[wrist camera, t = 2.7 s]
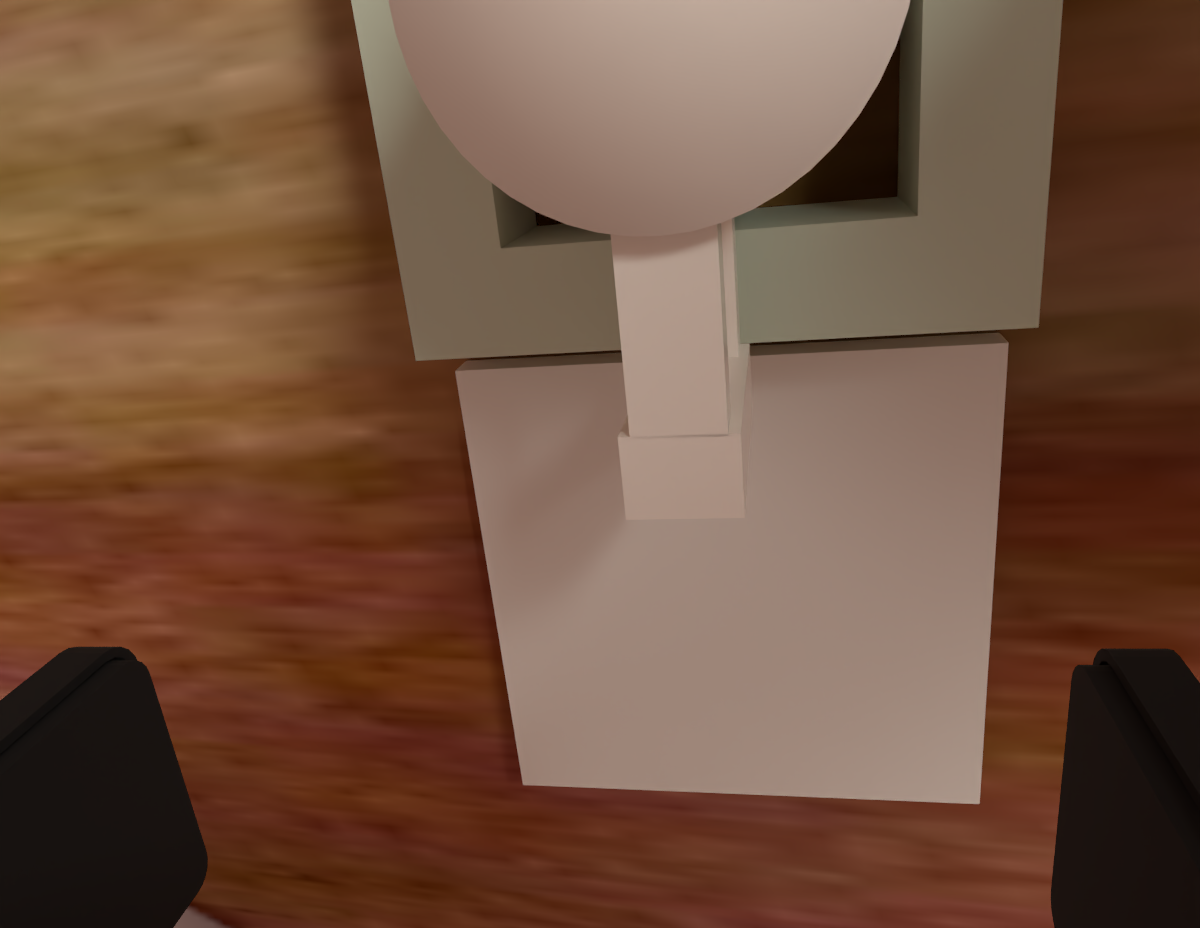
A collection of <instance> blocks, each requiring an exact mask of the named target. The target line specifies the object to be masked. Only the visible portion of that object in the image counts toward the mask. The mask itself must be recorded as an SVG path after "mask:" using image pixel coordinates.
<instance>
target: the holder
mask: <svg viewBox="0 0 1200 928" xmlns="http://www.w3.org/2000/svg"><path fill="white" fill-rule="evenodd" d="M351 3H352V9H353V14H354V20H355V25H356V31H357V36H358V42H359V48H360V53H361V59H362V64H363V70H364V75H365V81H366V87H367V92H368V98H369V103H370V109H371V114H372V120H373V125H374V131H375V137H376V142H377V148H378V153H379V159H380V164H381V170H382V176H383V181H384V187H385V192H386V198H387V203H388V209H389V215H390V220H391V226H392V231H393V237H394V242H395V248H396V254H397V259H398V265H399V270H400V276H401V281H402V287H403V292H404V298H405V304H406V309H407V315H408V320H409V326H410V331H411V337H412V343H413V348H414V354H415V359H416V361H424V360H442V359H461V358H480V357H499V356H517V355H536V354H555V353H573V352H592V351H611V350H621V340H620V329H619V319H618V308H617V298H616V287H615V277H614V266H613V256H612V245H611V235H610V234H604V233H597V232H593V231H589V230H585V229H582V228H578V227H574V226H570V225H567V224H557V225H544V226H537V223H536V215H535V211H534V210H532V209H531V208H529V207H527V206H525V205H524V204H522V203H520V202H518V201H517V200H515V199H513V198H511V197H510V196H509V195H507V194H506V193H505V192H503V191H502V190H501V189H499V188H498V187H497V186H495V185H494V184H493V183H491V182H490V181H489V180H487V179H486V178H485V177H484V176H483V175H482V174H481V173H480V172H479V171H478V170H477V169H476V168H475V167H474V166H473V165H472V164H471V163H470V162H468V161H467V160H466V159H465V158H464V157H463V156H462V155H461V153H460V152H459V151H458V150H457V148H456V147H455V146H454V145H453V143H452V142H451V141H450V140H449V138H448V137H447V136H446V135H445V133H444V132H443V131H442V130H441V128H440V127H439V125H438V124H437V122H436V120H435V119H434V117H433V116H432V114H431V112H430V111H429V109H428V108H427V106H426V104H425V103H424V101H423V100H422V98H421V95H420V93H419V91H418V89H417V87H416V85H415V83H414V81H413V79H412V77H411V74H410V72H409V70H408V68H407V65H406V62H405V59H404V57H403V54H402V51H401V48H400V45H399V42H398V39H397V36H396V33H395V29H394V24H393V20H392V15H391V11H390V6H389V2H388V0H351ZM1062 9H1063V0H910V4H909V9H908V12H907V15H906V18H905V21H904V24H903V27H902V30H901V33H900V74H899V134H898V193H897V197H887V198H874V199H862V200H850V201H838V202H826V203H813V204H801V205H789V206H777V207H764V208H755V209H753V210H751V211H748V212H746V213H744V214H741V215H739V216H737V217H734V219H735V241H736V263H737V284H738V306H739V328H740V344H742V343H761V342H779V341H798V340H817V339H835V338H854V337H873V336H892V335H910V334H929V333H948V332H967V331H985V330H1004V329H1023V328H1039V316H1040V303H1041V290H1042V276H1043V263H1044V249H1045V236H1046V223H1047V209H1048V196H1049V183H1050V169H1051V156H1052V143H1053V129H1054V116H1055V102H1056V89H1057V76H1058V62H1059V49H1060V36H1061V22H1062Z"/></svg>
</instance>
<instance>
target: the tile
mask: <svg viewBox="0 0 1200 928" xmlns="http://www.w3.org/2000/svg"><path fill="white" fill-rule="evenodd" d="M1008 345H1009V343H1008V342H1007V341H1006V339H1005V338H1004V337H1003V336H1002V335H1001V334H1000V333H981V334H962V335H944V336H925V337H906V338H887V339H868V340H849V341H830V342H811V343H792V344H773V345H754V346H750V362H751V386H752V424H751V438H750V452H749V466H748V481H747V495H746V509H745V518H709V519H647V520H626V516H625V506H624V496H623V486H622V476H621V466H620V456H619V446H618V435H619V433H620V431H621V429H622V426H623V424H624V422H625V419H626V417H627V415H628V414H627V403H626V393H625V382H624V372H623V361H622V353H603V354H584V355H565V356H546V357H527V358H508V359H489V360H471V361H465V362H464V363H463V364H462V365H461V366H460V367H459V368H458V369H457V370H456V371H455V374H456V380H457V386H458V392H459V398H460V405H461V411H462V417H463V423H464V429H465V435H466V441H467V447H468V453H469V459H470V465H471V472H472V478H473V484H474V490H475V496H476V502H477V508H478V514H479V520H480V526H481V532H482V539H483V545H484V551H485V557H486V563H487V569H488V575H489V581H490V587H491V593H492V599H493V605H494V612H495V618H496V624H497V630H498V636H499V642H500V648H501V654H502V660H503V666H504V672H505V679H506V685H507V691H508V697H509V703H510V709H511V715H512V721H513V727H514V733H515V739H516V746H517V752H518V758H519V764H520V770H521V776H522V782H523V785H536V786H560V787H584V788H608V789H632V790H655V791H679V792H703V793H727V794H751V795H775V796H798V797H822V798H846V799H870V800H894V801H918V802H941V803H965V804H980V789H981V774H982V758H983V742H984V726H985V710H986V694H987V678H988V663H989V647H990V631H991V615H992V599H993V583H994V567H995V552H996V536H997V520H998V504H999V488H1000V472H1001V456H1002V440H1003V425H1004V409H1005V393H1006V377H1007V361H1008Z"/></svg>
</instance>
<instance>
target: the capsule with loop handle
mask: <svg viewBox="0 0 1200 928" xmlns="http://www.w3.org/2000/svg"><path fill="white" fill-rule="evenodd" d="M388 2H389V6H390V11H391V15H392V20H393V24H394V29H395V33H396V36H397V39H398V42H399V45H400V48H401V51H402V54H403V57H404V59H405V62H406V65H407V68H408V70H409V72H410V74H411V77H412V79H413V81H414V83H415V85H416V87H417V89H418V91H419V93H420V95H421V98H422V100H423V101H424V103H425V104H426V106H427V108H428V109H429V111H430V112H431V114H432V116H433V117H434V119H435V120H436V122H437V124H438V125H439V127H440V128H441V130H442V131H443V132H444V133H445V135H446V136H447V137H448V138H449V140H450V141H451V142H452V143H453V145H454V146H455V147H456V148H457V150H458V151H459V152H460V153H461V155H462V156H463V157H464V158H465V159H466V160H467V161H468V162H470V163H471V164H472V165H473V166H474V167H475V168H476V169H477V170H478V171H479V172H480V173H481V174H482V175H483V176H484V177H485V178H486V179H487V180H489V181H490V182H491V183H493V184H494V185H495V186H497V187H498V188H499V189H501V190H502V191H503V192H505V193H506V194H507V195H509V196H510V197H511V198H513V199H515V200H517V201H518V202H520V203H522V204H524V205H525V206H527V207H529V208H531V209H532V210H534V211H536V212H538V213H540V214H542V215H545V216H547V217H550V218H552V219H554V220H557V221H559V222H562V223H564V224H567V225H570V226H574V227H578V228H582V229H585V230H589V231H593V232H597V233H604V234H610V235H611V245H612V256H613V266H614V277H615V287H616V298H617V308H618V319H619V329H620V340H621V351H622V361H623V372H624V382H625V393H626V403H627V414H628V415H627V417H626V419H625V422H624V424H623V426H622V429H621V431H620V433H619V435H618V446H619V456H620V466H621V476H622V486H623V496H624V506H625V516H626V520H647V519H709V518H745V509H746V495H747V481H748V466H749V452H750V438H751V424H752V386H751V362H750V343H747V344H740V328H739V306H738V284H737V263H736V241H735V219H734V217H737V216H739V215H741V214H744V213H746V212H748V211H751V210H753V209H755V208H756V207H758V206H760V205H761V204H763V203H765V202H766V201H768V200H770V199H771V198H773V197H775V196H776V195H778V194H780V193H782V192H783V191H784V190H786V189H787V188H788V187H789V186H791V185H792V184H793V183H795V182H796V181H797V180H798V179H800V178H801V177H802V176H804V175H805V174H806V173H807V172H809V171H810V170H811V169H812V168H813V167H814V166H815V165H816V164H817V163H818V162H819V161H820V160H821V159H822V158H823V157H824V156H825V155H826V154H827V153H828V152H829V151H830V150H831V149H832V148H833V147H834V146H835V145H836V144H837V143H838V142H839V140H840V139H841V138H842V136H843V135H844V134H845V133H846V131H847V130H848V129H849V128H850V126H851V125H852V124H853V123H854V121H855V120H856V119H857V117H858V116H859V115H860V113H861V112H862V110H863V108H864V107H865V105H866V103H867V102H868V100H869V99H870V97H871V95H872V94H873V92H874V90H875V89H876V87H877V85H878V84H879V82H880V80H881V78H882V76H883V74H884V71H885V69H886V67H887V65H888V63H889V61H890V58H891V56H892V54H893V52H894V50H895V48H896V45H897V42H898V39H899V36H900V33H901V30H902V27H903V24H904V21H905V18H906V15H907V12H908V9H909V4H910V0H388Z"/></svg>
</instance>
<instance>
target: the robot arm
mask: <svg viewBox="0 0 1200 928" xmlns="http://www.w3.org/2000/svg"><path fill="white" fill-rule="evenodd" d="M207 860H208V858H207V852H206V849H205V845H204V842H203V839H202V836H201V833H200V830H199V827H198V823H197V820H196V817H195V814H194V811H193V808H192V805H191V801H190V798H189V795H188V792H187V789H186V786H185V783H184V780H183V776H182V773H181V770H180V767H179V764H178V761H177V758H176V754H175V751H174V748H173V745H172V742H171V739H170V736H169V733H168V729H167V726H166V723H165V720H164V717H163V714H162V711H161V707H160V704H159V701H158V698H157V695H156V692H155V689H154V685H153V682H152V679H151V676H150V673H149V671H148V669H147V667H146V666H145V665H144V664H143V663H142V662H139V661H137V659H136V657H135V655H134V654H133V653H132V652H131V651H129V650H128V649H125V648H122V647H73V648H68V649H66V650H64V651H63V652H61V653H59V654H58V655H57V656H56V657H54V658H53V659H52V660H51V661H49V662H48V663H47V664H46V665H44V666H43V667H42V668H41V669H39V670H38V671H37V672H35V673H34V674H33V675H32V676H30V677H29V678H28V679H27V680H25V681H24V682H23V683H22V684H20V685H19V686H18V687H17V688H15V689H14V690H13V691H12V692H10V693H9V694H8V695H7V696H5V697H4V698H3V699H2V700H0V928H173V927H174V926H175V924H176V923H177V922H178V920H179V919H180V917H181V916H182V914H183V913H184V912H185V910H186V909H187V907H188V906H189V904H190V903H191V902H192V900H193V899H194V897H195V896H196V895H197V893H198V892H199V890H200V888H201V886H202V884H203V882H204V879H205V876H206V871H207ZM1051 908H1052V916H1053V922H1054V926H1055V928H1200V683H1199V681H1198V680H1197V679H1196V677H1195V676H1194V675H1193V673H1192V672H1191V671H1190V669H1189V668H1188V667H1187V665H1186V664H1185V663H1184V661H1183V660H1182V659H1181V657H1180V656H1179V655H1178V654H1177V653H1176V652H1175V651H1174V650H1170V649H1101V650H1099V651H1098V652H1097V654H1096V656H1095V658H1094V662H1093V665H1078V666H1076V667H1075V669H1074V671H1073V675H1072V681H1071V691H1070V701H1069V712H1068V722H1067V732H1066V743H1065V753H1064V763H1063V773H1062V784H1061V794H1060V804H1059V815H1058V825H1057V835H1056V845H1055V856H1054V866H1053V876H1052V887H1051Z"/></svg>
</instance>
